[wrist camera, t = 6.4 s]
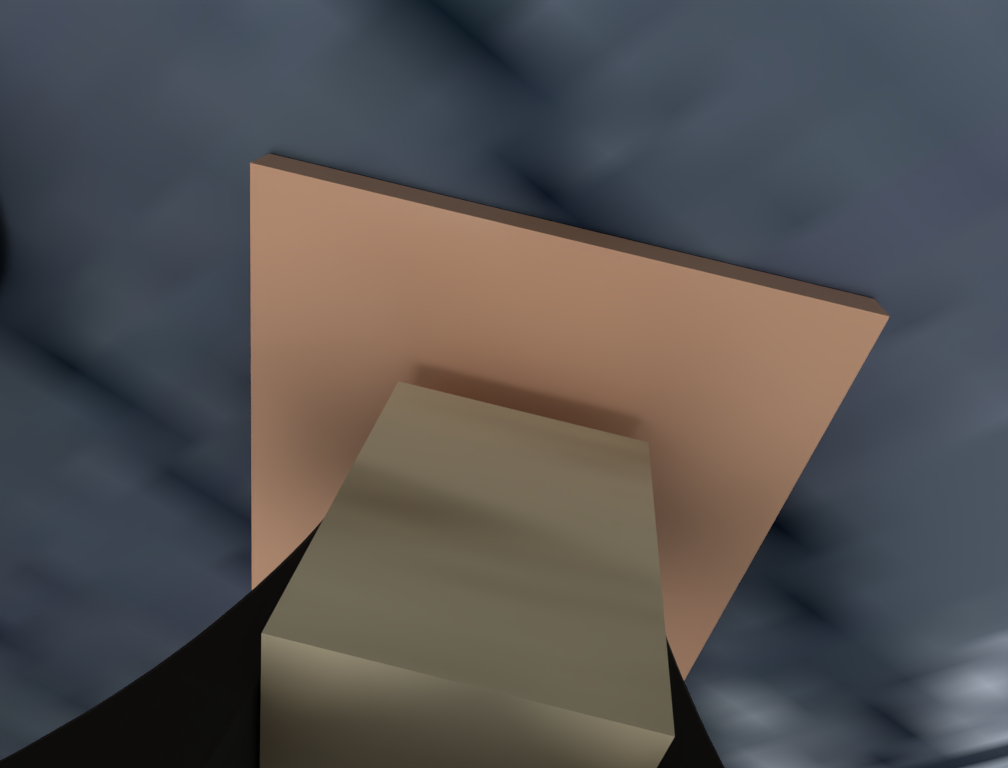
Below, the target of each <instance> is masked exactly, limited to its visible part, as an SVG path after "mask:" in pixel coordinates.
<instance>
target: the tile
mask: <svg viewBox="0 0 1008 768" xmlns="http://www.w3.org/2000/svg"><path fill="white" fill-rule="evenodd" d="M250 250H251V491H252V590H253V589H254V588H255V587H256V586H257V585H258V584H259V583H260V582H262V581H263V580H264V579H265V578H266V577H267V576H268V575H269V574H270V573H271V572H272V571H273V570H275V569H276V568H277V567H278V566H279V565H280V564H281V563H282V562H283V561H284V560H285V559H286V558H287V557H288V556H289V555H290V554H291V553H292V552H293V551H294V550H295V549H296V548H297V547H298V546H299V545H300V544H301V543H302V542H303V541H304V540H305V539H306V538H307V537H308V535H309V534H310V533H311V532H312V531H313V530H314V529H315V528H316V527H317V526H318V525H319V523H320V522H321V521H322V520H323V519H324V517H325V515H326V514H327V512H328V510H329V508H330V506H331V504H332V503H333V501H334V499H335V497H336V495H337V493H338V491H339V490H340V488H341V486H342V484H343V482H344V480H345V479H346V477H347V475H348V473H349V471H350V469H351V468H352V466H353V464H354V462H355V460H356V458H357V457H358V455H359V453H360V451H361V449H362V447H363V445H364V444H365V442H366V440H367V438H368V436H369V434H370V433H371V431H372V429H373V427H374V425H375V423H376V422H377V420H378V418H379V416H380V414H381V412H382V411H383V409H384V407H385V405H386V403H387V401H388V399H389V398H390V396H391V394H392V392H393V390H394V388H395V387H396V385H397V383H398V381H399V382H404V383H408V384H412V385H416V386H420V387H424V388H428V389H432V390H436V391H440V392H444V393H449V394H453V395H457V396H461V397H465V398H469V399H473V400H477V401H481V402H485V403H489V404H494V405H498V406H502V407H506V408H510V409H514V410H518V411H522V412H526V413H530V414H534V415H539V416H543V417H547V418H551V419H555V420H559V421H563V422H567V423H571V424H575V425H579V426H584V427H588V428H592V429H596V430H600V431H604V432H608V433H612V434H616V435H620V436H625V437H629V438H633V439H637V440H641V441H645V442H648V443H649V454H650V465H651V476H652V487H653V498H654V509H655V521H656V532H657V543H658V554H659V565H660V576H661V588H662V599H663V610H664V621H665V632H666V637H667V640H668V642H669V645H670V648H671V650H672V653H673V655H674V658H675V660H676V663H677V665H678V668H679V670H680V673H681V675H682V678H683V680H685V678H686V676H687V675H688V673H689V671H690V669H691V668H692V666H693V664H694V662H695V661H696V659H697V657H698V655H699V653H700V652H701V650H702V648H703V646H704V645H705V643H706V641H707V639H708V638H709V636H710V634H711V632H712V630H713V629H714V627H715V625H716V623H717V622H718V620H719V618H720V616H721V615H722V613H723V611H724V609H725V607H726V606H727V604H728V602H729V600H730V599H731V597H732V595H733V593H734V592H735V590H736V588H737V586H738V584H739V583H740V581H741V579H742V577H743V576H744V574H745V572H746V570H747V568H748V567H749V565H750V563H751V561H752V560H753V558H754V556H755V554H756V553H757V551H758V549H759V547H760V545H761V544H762V542H763V540H764V538H765V537H766V535H767V533H768V531H769V530H770V528H771V526H772V524H773V522H774V521H775V519H776V517H777V515H778V514H779V512H780V510H781V508H782V507H783V505H784V503H785V501H786V499H787V498H788V496H789V494H790V492H791V491H792V489H793V487H794V485H795V484H796V482H797V480H798V478H799V476H800V475H801V473H802V471H803V469H804V468H805V466H806V464H807V462H808V460H809V459H810V457H811V455H812V453H813V452H814V450H815V448H816V446H817V445H818V443H819V441H820V439H821V437H822V436H823V434H824V432H825V430H826V429H827V427H828V425H829V423H830V422H831V420H832V418H833V416H834V414H835V413H836V411H837V409H838V407H839V406H840V404H841V402H842V400H843V399H844V397H845V395H846V393H847V391H848V390H849V388H850V386H851V384H852V383H853V381H854V379H855V377H856V376H857V374H858V372H859V370H860V368H861V367H862V365H863V363H864V361H865V360H866V358H867V356H868V354H869V353H870V351H871V349H872V347H873V345H874V344H875V342H876V340H877V338H878V337H879V335H880V333H881V331H882V329H883V328H884V326H885V324H886V322H887V321H888V319H889V317H890V316H889V315H888V314H887V313H886V311H885V310H884V309H883V308H882V307H881V306H880V304H879V303H878V302H877V301H876V300H875V299H873V298H869V297H865V296H861V295H856V294H852V293H848V292H844V291H840V290H836V289H831V288H827V287H823V286H819V285H815V284H811V283H806V282H802V281H798V280H794V279H790V278H786V277H781V276H777V275H773V274H769V273H765V272H761V271H756V270H752V269H748V268H744V267H740V266H736V265H732V264H727V263H723V262H719V261H715V260H711V259H707V258H702V257H698V256H694V255H690V254H686V253H682V252H677V251H673V250H669V249H665V248H661V247H657V246H652V245H648V244H644V243H640V242H636V241H632V240H627V239H623V238H619V237H615V236H611V235H607V234H602V233H598V232H594V231H590V230H586V229H582V228H578V227H573V226H569V225H565V224H561V223H557V222H553V221H548V220H544V219H540V218H536V217H532V216H528V215H523V214H519V213H515V212H511V211H507V210H503V209H498V208H494V207H490V206H486V205H482V204H478V203H473V202H469V201H465V200H461V199H457V198H453V197H448V196H444V195H440V194H436V193H432V192H428V191H423V190H419V189H415V188H411V187H407V186H403V185H399V184H394V183H390V182H386V181H382V180H378V179H374V178H369V177H365V176H361V175H357V174H353V173H349V172H344V171H340V170H336V169H332V168H328V167H324V166H319V165H315V164H311V163H307V162H303V161H299V160H294V159H290V158H286V157H282V156H278V155H274V154H267V155H265V156H263V157H261V158H259V159H257V160H255V161H253V162H251V163H250Z"/></svg>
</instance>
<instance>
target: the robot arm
mask: <svg viewBox="0 0 1008 768" xmlns="http://www.w3.org/2000/svg"><path fill="white" fill-rule="evenodd" d="M322 521H323V520H322ZM322 521H321V522H320V523H319V525H318V526H317V527H316V528H315V529H314V530H313V531H312V532H311V533H310V534H309V535H308V537H307V538H306V539H305V540H304V541H303V542H302V543H301V544H300V545H299V546H298V547H297V548H296V549H295V550H294V551H293V552H292V553H291V554H290V555H289V556H288V557H287V558H286V559H285V560H284V561H283V562H282V563H281V564H280V565H279V566H278V567H277V568H276V569H275V570H273V571H272V572H271V573H270V574H269V575H268V576H267V577H266V578H265V579H264V580H263V581H262V582H260V583H259V584H258V585H257V586H256V587H255V588H254V589H253V590H252V591H251V592H250V593H248V594H247V595H246V596H245V597H244V598H243V599H242V600H240V601H239V602H238V603H237V604H236V605H234V606H233V607H232V608H231V609H230V610H228V611H227V612H226V613H225V614H224V615H222V616H221V617H220V618H219V619H218V620H216V621H215V622H214V623H213V624H212V625H210V626H209V627H208V628H207V629H206V630H204V631H203V632H202V633H200V634H199V635H198V636H197V637H195V638H194V639H193V640H191V641H190V642H189V643H187V644H186V645H185V646H183V647H182V648H181V649H179V650H178V651H177V652H175V653H174V654H173V655H171V656H170V657H168V658H167V659H166V660H164V661H163V662H161V663H160V664H159V665H157V666H156V667H154V668H153V669H152V670H150V671H149V672H147V673H146V674H144V675H143V676H141V677H140V678H138V679H137V680H135V681H134V682H132V683H131V684H129V685H128V686H126V687H125V688H123V689H122V690H120V691H119V692H117V693H116V694H114V695H113V696H111V697H109V698H108V699H106V700H105V701H103V702H102V703H100V704H98V705H97V706H95V707H94V708H92V709H90V710H89V711H87V712H85V713H84V714H82V715H80V716H79V717H77V718H75V719H73V720H72V721H70V722H68V723H66V724H65V725H63V726H61V727H59V728H58V729H56V730H54V731H52V732H51V733H49V734H47V735H46V736H44V737H42V738H40V739H39V740H37V741H35V742H33V743H32V744H30V745H28V746H26V747H25V748H23V749H21V750H19V751H17V752H15V753H14V754H12V755H10V756H8V757H6V758H4V759H2V760H0V768H260V706H261V633H262V631H263V629H264V628H265V626H266V624H267V622H268V620H269V618H270V617H271V615H272V613H273V611H274V609H275V607H276V606H277V604H278V602H279V600H280V598H281V596H282V595H283V593H284V591H285V589H286V587H287V585H288V583H289V582H290V580H291V578H292V576H293V574H294V572H295V571H296V569H297V567H298V565H299V563H300V561H301V560H302V558H303V556H304V554H305V552H306V550H307V549H308V547H309V545H310V543H311V541H312V539H313V537H314V536H315V534H316V532H317V530H318V528H319V526H320V525H321V523H322ZM666 643H667V654H668V666H669V677H670V688H671V699H672V710H673V721H674V732H675V737H674V739H673V741H672V742H671V744H670V746H669V748H668V749H667V751H666V753H665V754H664V756H663V758H662V760H661V761H660V763H659V765H658V766H657V768H724V766H723V764H722V762H721V760H720V758H719V756H718V754H717V752H716V750H715V748H714V746H713V744H712V742H711V740H710V738H709V736H708V734H707V732H706V729H705V727H704V725H703V723H702V721H701V719H700V717H699V714H698V712H697V710H696V708H695V705H694V703H693V701H692V698H691V696H690V694H689V692H688V689H687V687H686V685H685V682H684V680H683V678H682V675H681V673H680V670H679V668H678V665H677V663H676V660H675V658H674V655H673V653H672V650H671V648H670V645H669V642H668V640H667V637H666Z"/></svg>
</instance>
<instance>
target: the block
mask: <svg viewBox="0 0 1008 768" xmlns="http://www.w3.org/2000/svg"><path fill="white" fill-rule="evenodd" d="M674 737H675V732H674V721H673V710H672V699H671V688H670V677H669V666H668V654H667V643H666V632H665V621H664V610H663V599H662V588H661V576H660V565H659V554H658V543H657V532H656V521H655V509H654V498H653V487H652V476H651V465H650V454H649V443H648V442H645V441H641V440H637V439H633V438H629V437H625V436H620V435H616V434H612V433H608V432H604V431H600V430H596V429H592V428H588V427H584V426H579V425H575V424H571V423H567V422H563V421H559V420H555V419H551V418H547V417H543V416H539V415H534V414H530V413H526V412H522V411H518V410H514V409H510V408H506V407H502V406H498V405H494V404H489V403H485V402H481V401H477V400H473V399H469V398H465V397H461V396H457V395H453V394H449V393H444V392H440V391H436V390H432V389H428V388H424V387H420V386H416V385H412V384H408V383H404V382H399V381H398V383H397V385H396V387H395V388H394V390H393V392H392V394H391V396H390V398H389V399H388V401H387V403H386V405H385V407H384V409H383V411H382V412H381V414H380V416H379V418H378V420H377V422H376V423H375V425H374V427H373V429H372V431H371V433H370V434H369V436H368V438H367V440H366V442H365V444H364V445H363V447H362V449H361V451H360V453H359V455H358V457H357V458H356V460H355V462H354V464H353V466H352V468H351V469H350V471H349V473H348V475H347V477H346V479H345V480H344V482H343V484H342V486H341V488H340V490H339V491H338V493H337V495H336V497H335V499H334V501H333V503H332V504H331V506H330V508H329V510H328V512H327V514H326V515H325V517H324V519H323V521H322V523H321V525H320V526H319V528H318V530H317V532H316V534H315V536H314V537H313V539H312V541H311V543H310V545H309V547H308V549H307V550H306V552H305V554H304V556H303V558H302V560H301V561H300V563H299V565H298V567H297V569H296V571H295V572H294V574H293V576H292V578H291V580H290V582H289V583H288V585H287V587H286V589H285V591H284V593H283V595H282V596H281V598H280V600H279V602H278V604H277V606H276V607H275V609H274V611H273V613H272V615H271V617H270V618H269V620H268V622H267V624H266V626H265V628H264V629H263V631H262V633H261V706H260V768H657V766H658V765H659V763H660V761H661V760H662V758H663V756H664V754H665V753H666V751H667V749H668V748H669V746H670V744H671V742H672V741H673V739H674Z"/></svg>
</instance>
